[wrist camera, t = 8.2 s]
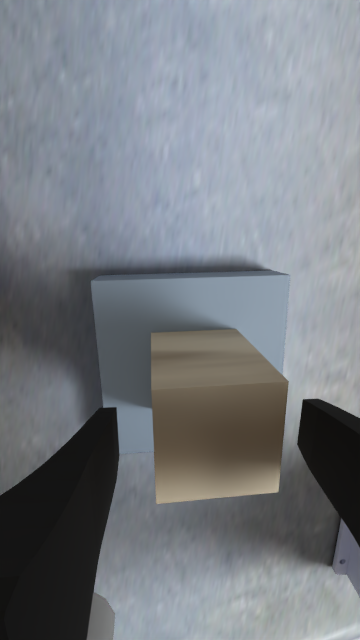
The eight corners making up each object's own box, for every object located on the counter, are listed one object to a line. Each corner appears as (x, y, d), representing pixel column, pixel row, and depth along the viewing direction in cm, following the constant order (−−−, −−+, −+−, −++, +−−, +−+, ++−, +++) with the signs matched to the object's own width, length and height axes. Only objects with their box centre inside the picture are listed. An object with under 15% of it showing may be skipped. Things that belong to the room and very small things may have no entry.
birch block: (233, 404, 16) (278, 492, 11) (154, 410, 16) (156, 504, 10) (236, 329, 15) (288, 381, 10) (150, 332, 15) (151, 389, 9)
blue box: (259, 413, 20) (277, 442, 17) (115, 423, 20) (108, 454, 17) (268, 269, 18) (290, 274, 15) (101, 274, 17) (90, 281, 14)
